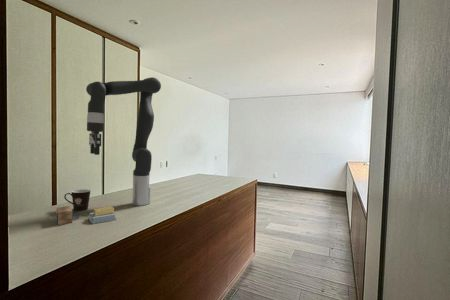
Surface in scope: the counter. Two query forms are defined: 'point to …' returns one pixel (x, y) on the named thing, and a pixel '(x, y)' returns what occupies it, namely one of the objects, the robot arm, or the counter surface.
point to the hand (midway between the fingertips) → (94, 154)
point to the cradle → (101, 218)
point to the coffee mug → (80, 199)
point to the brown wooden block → (64, 215)
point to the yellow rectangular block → (103, 211)
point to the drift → (74, 217)
